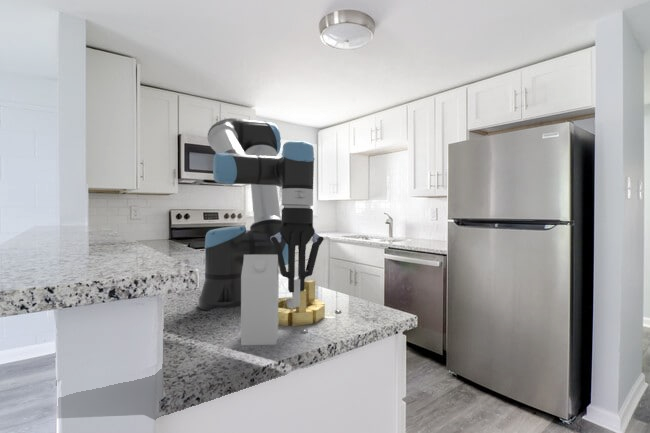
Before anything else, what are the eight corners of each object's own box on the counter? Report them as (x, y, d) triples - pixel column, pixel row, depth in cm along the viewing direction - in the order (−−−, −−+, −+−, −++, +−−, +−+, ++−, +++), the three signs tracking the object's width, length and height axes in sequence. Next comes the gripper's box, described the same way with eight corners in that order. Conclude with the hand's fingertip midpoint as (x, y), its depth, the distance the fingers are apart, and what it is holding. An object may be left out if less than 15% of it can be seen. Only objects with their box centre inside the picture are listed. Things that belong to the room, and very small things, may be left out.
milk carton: (245, 338, 76) (246, 252, 76) (278, 337, 76) (278, 252, 76) (240, 351, 69) (241, 257, 68) (276, 350, 69) (276, 256, 69)
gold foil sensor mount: (271, 328, 78) (271, 293, 78) (259, 310, 92) (259, 281, 92) (332, 321, 84) (332, 288, 84) (312, 305, 98) (312, 277, 98)
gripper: (272, 206, 77) (270, 311, 77) (327, 207, 80) (326, 308, 80) (268, 207, 84) (267, 303, 84) (319, 208, 87) (318, 300, 87)
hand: (295, 305), depth 82 cm, fingers closed
